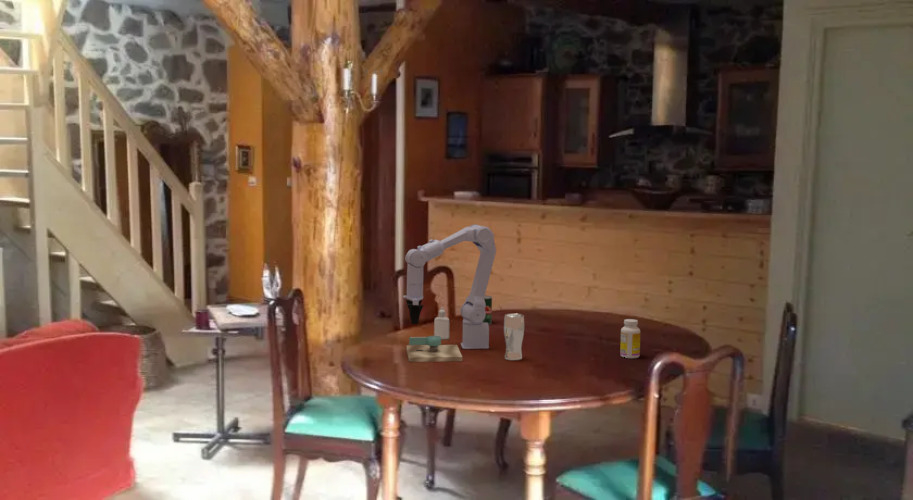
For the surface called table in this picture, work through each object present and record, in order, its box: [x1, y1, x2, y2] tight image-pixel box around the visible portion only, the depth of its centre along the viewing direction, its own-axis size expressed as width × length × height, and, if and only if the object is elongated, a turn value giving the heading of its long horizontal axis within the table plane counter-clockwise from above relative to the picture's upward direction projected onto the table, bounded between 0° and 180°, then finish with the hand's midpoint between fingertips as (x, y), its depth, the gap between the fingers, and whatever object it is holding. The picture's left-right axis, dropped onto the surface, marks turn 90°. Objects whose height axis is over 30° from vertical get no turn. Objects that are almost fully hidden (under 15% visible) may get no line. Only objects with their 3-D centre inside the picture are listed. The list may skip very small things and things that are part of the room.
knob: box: [408, 335, 442, 346], centre depth 302 cm, size 11×5×3 cm, turn 96°
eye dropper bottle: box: [433, 306, 450, 340], centre depth 328 cm, size 4×6×12 cm
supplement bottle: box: [619, 318, 641, 359], centre depth 303 cm, size 7×7×13 cm
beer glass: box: [503, 313, 525, 361], centre depth 299 cm, size 7×7×15 cm
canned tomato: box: [483, 294, 493, 326], centre depth 358 cm, size 8×8×11 cm
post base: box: [406, 344, 463, 363], centre depth 303 cm, size 18×18×4 cm
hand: (414, 321), depth 307 cm, fingers open, 7 cm apart
